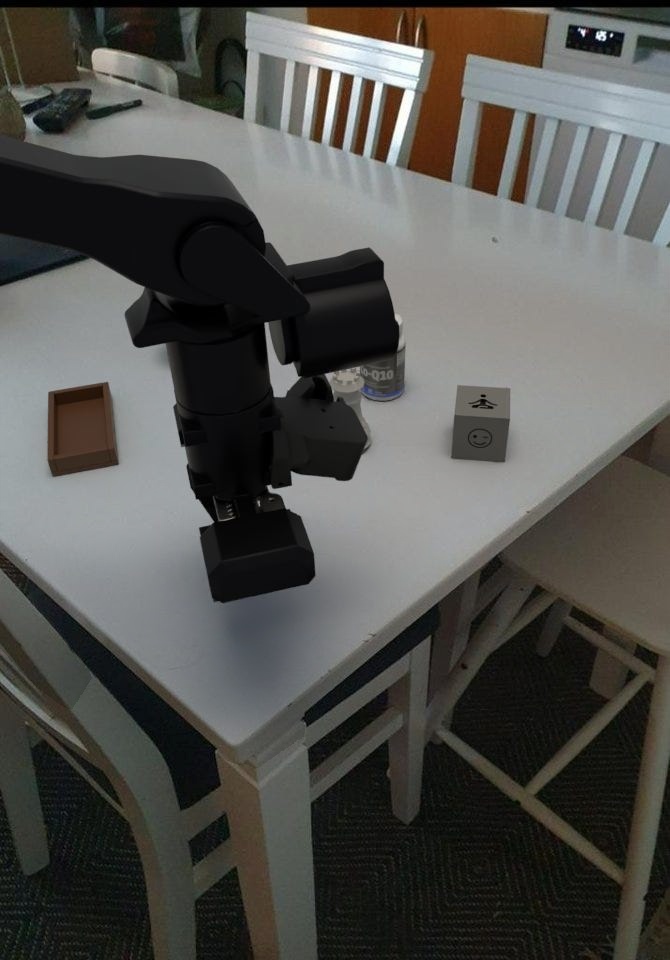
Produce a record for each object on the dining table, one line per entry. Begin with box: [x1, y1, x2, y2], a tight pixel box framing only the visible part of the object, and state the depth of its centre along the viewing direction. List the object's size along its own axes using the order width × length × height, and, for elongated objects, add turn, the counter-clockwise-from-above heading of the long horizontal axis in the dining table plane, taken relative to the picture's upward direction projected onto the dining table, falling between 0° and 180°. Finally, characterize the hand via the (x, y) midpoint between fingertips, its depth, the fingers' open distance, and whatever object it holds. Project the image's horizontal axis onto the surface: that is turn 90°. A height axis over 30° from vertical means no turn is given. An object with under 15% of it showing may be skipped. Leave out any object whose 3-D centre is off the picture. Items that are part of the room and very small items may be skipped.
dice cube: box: [450, 384, 511, 463], centre depth 77 cm, size 5×5×5 cm
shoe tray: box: [46, 381, 120, 477], centre depth 81 cm, size 6×12×2 cm, turn 15°
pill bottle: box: [359, 312, 407, 402], centre depth 84 cm, size 5×5×8 cm
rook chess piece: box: [329, 367, 372, 452], centre depth 77 cm, size 4×4×8 cm
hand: (249, 570), depth 58 cm, fingers closed on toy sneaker, 3 cm apart
